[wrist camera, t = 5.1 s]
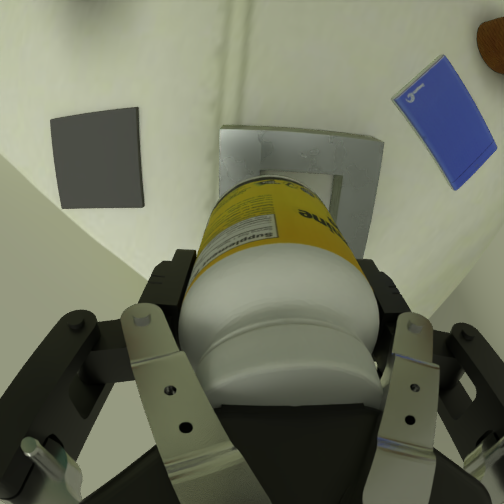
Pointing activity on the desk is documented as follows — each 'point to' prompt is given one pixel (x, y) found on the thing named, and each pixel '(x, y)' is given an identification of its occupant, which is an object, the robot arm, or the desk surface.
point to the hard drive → (446, 121)
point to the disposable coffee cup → (492, 43)
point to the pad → (98, 159)
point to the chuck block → (310, 168)
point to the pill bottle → (279, 303)
